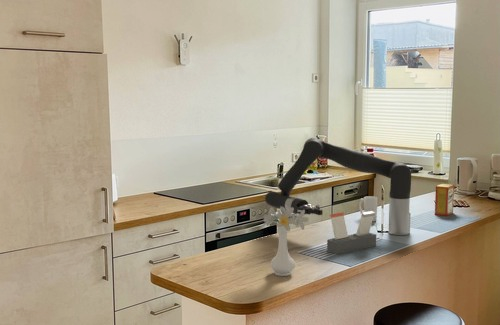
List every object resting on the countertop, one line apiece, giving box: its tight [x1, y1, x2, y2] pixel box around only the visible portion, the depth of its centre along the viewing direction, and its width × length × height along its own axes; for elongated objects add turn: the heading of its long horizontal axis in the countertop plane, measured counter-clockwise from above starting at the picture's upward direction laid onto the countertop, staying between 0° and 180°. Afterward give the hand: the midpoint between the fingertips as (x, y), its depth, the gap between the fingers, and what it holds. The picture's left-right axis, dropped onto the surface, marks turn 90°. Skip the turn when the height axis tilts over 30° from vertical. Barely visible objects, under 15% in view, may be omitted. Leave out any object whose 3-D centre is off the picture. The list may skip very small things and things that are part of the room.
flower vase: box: [261, 206, 309, 277], centre depth 211 cm, size 13×18×25 cm
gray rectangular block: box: [326, 232, 377, 255], centre depth 244 cm, size 23×6×6 cm, turn 124°
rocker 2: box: [355, 211, 375, 236], centre depth 245 cm, size 6×2×11 cm, turn 124°
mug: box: [358, 195, 378, 222], centre depth 296 cm, size 10×7×12 cm, turn 51°
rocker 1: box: [329, 212, 349, 239], centre depth 241 cm, size 6×2×11 cm, turn 124°
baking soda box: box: [434, 183, 455, 217], centre depth 309 cm, size 10×6×16 cm
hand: (321, 212), depth 250 cm, fingers closed
